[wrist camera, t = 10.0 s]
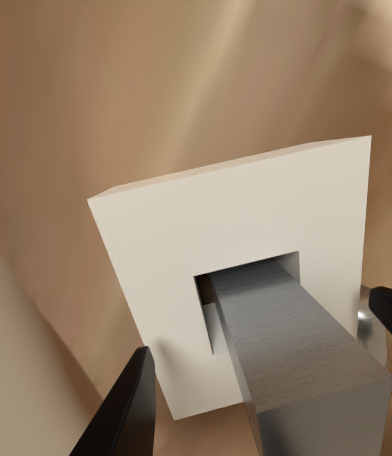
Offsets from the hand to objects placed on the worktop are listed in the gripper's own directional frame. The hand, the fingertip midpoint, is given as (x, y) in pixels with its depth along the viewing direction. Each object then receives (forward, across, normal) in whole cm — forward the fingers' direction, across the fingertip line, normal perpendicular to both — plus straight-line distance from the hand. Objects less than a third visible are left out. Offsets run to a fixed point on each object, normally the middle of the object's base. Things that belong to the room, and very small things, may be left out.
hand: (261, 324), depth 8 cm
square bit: (+4, 0, 0) cm, 5 cm away
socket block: (+4, 0, 0) cm, 4 cm away
